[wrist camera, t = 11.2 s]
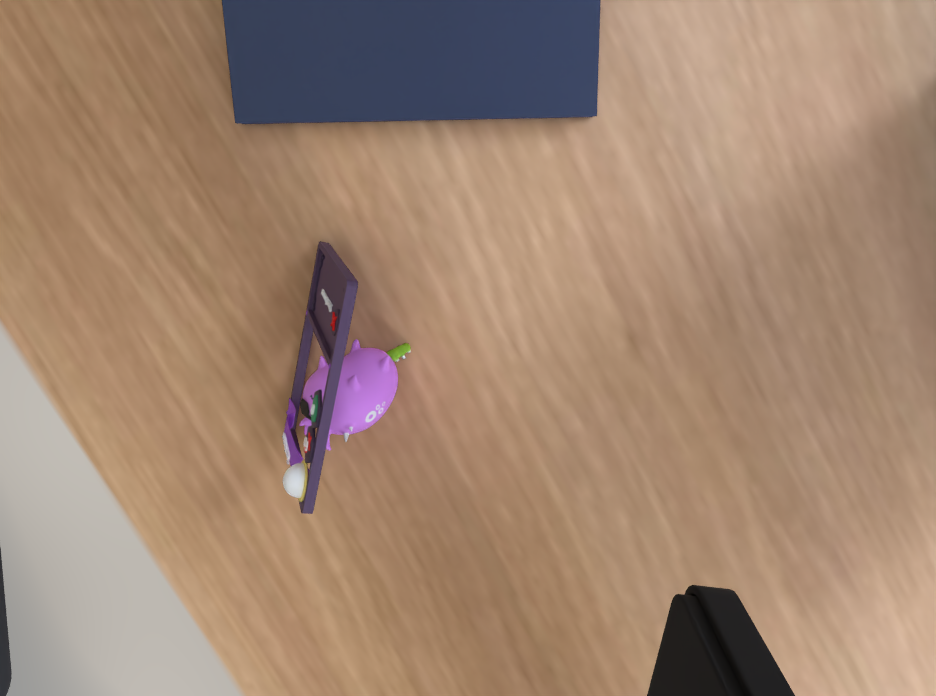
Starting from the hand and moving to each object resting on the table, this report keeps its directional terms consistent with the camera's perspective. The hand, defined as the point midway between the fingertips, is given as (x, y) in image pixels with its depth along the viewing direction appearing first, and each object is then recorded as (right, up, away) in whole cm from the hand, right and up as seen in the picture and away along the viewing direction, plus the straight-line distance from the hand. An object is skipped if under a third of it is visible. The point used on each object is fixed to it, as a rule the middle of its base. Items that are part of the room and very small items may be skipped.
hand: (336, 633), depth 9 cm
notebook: (0, +18, +17) cm, 24 cm away
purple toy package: (-3, +4, +21) cm, 21 cm away
